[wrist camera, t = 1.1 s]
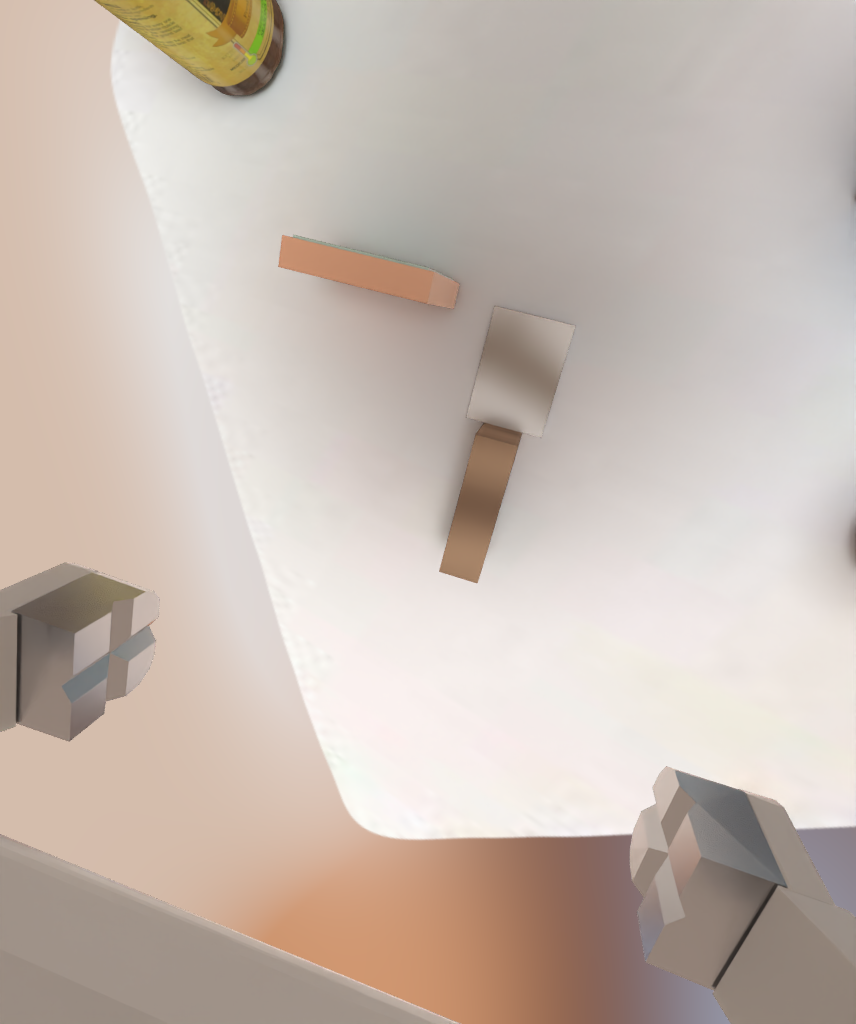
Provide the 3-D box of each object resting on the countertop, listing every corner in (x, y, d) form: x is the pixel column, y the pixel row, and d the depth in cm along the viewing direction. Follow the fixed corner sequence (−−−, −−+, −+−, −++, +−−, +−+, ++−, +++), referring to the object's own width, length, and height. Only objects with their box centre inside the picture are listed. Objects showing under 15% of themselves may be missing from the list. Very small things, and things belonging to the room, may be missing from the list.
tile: (334, 279, 36) (278, 266, 29) (339, 251, 36) (282, 232, 28) (453, 308, 35) (427, 303, 28) (460, 281, 35) (435, 268, 27)
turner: (503, 558, 40) (496, 589, 35) (435, 538, 40) (420, 565, 36) (575, 325, 34) (578, 325, 30) (495, 306, 35) (486, 302, 30)
